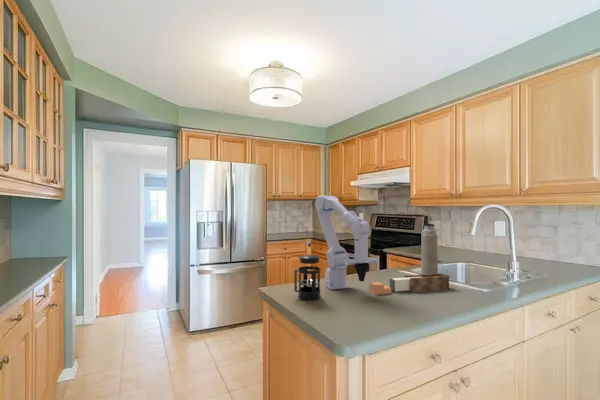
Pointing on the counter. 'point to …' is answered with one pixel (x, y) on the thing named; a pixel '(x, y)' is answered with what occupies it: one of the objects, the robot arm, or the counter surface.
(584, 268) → the counter surface
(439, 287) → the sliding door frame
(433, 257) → the thermos bottle
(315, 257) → the french press
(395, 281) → the sliding door
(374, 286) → the peach two-level step
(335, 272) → the robot arm
